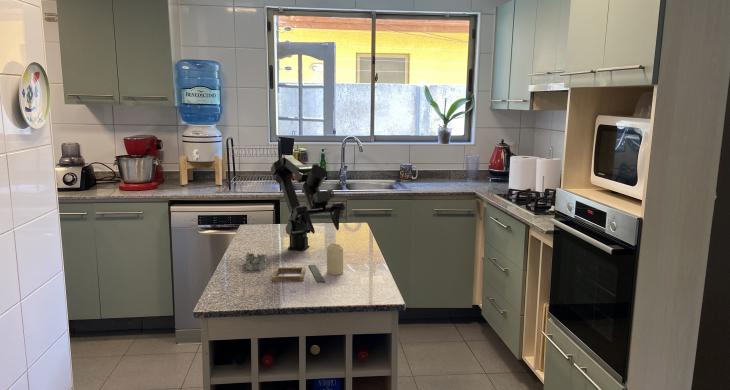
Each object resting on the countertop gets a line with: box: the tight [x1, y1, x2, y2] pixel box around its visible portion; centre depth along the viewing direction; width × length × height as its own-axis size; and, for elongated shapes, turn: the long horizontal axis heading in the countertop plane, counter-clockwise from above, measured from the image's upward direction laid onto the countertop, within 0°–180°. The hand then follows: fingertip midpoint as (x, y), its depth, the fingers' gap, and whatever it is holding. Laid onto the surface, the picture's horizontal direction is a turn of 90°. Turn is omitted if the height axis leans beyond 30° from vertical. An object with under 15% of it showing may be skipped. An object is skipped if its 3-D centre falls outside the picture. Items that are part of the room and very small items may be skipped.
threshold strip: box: [308, 264, 326, 284], centre depth 174 cm, size 18×2×1 cm, turn 16°
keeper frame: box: [271, 266, 306, 283], centre depth 172 cm, size 10×10×2 cm
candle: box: [326, 243, 344, 276], centre depth 175 cm, size 6×6×10 cm
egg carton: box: [244, 251, 268, 271], centre depth 183 cm, size 11×8×4 cm
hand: (326, 231), depth 180 cm, fingers open, 9 cm apart
